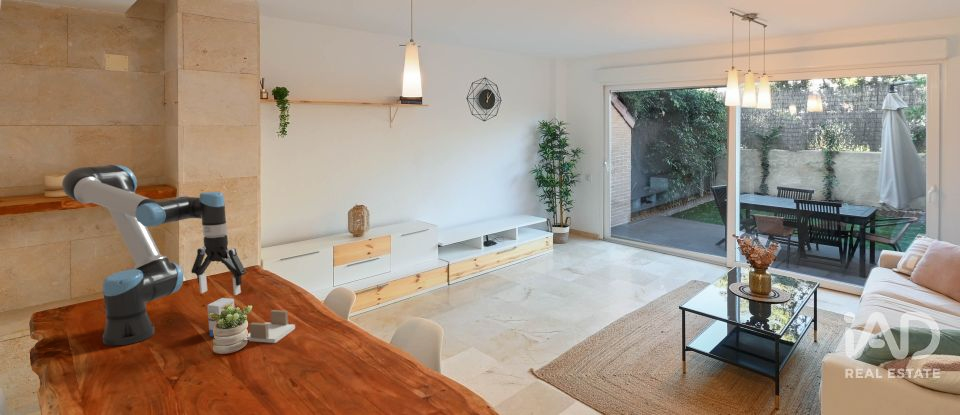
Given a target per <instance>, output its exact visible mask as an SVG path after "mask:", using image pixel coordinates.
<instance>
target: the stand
mask: <svg viewBox="0 0 960 415" xmlns="http://www.w3.org/2000/svg"><path fill="white" fill-rule="evenodd" d="M295 329H296V324H291V323H290V324H289V313H288V310H278V309H272V310H271V311H270V322H251V323H250V324H249V333H247V334H248V336H247V339H248V340H249V341H248V342H256V343H257V342H258V343H270V344H275V343H278V342H279V341H280V340H282V339H283V338H284V337H285V336H287V335H288V334H290V333H291V332H292V331H294V330H295Z"/></svg>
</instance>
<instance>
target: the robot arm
mask: <svg viewBox="0 0 960 415" xmlns="http://www.w3.org/2000/svg"><path fill="white" fill-rule="evenodd" d="M137 180H138V179H137V177H136V175H135V173H134V172H133V171H132V170H131V169H130V168H128V167H127V166H124V165H121V164H120V165H119V164H118V165H117V164H115V165H114V164H109V165H108V164H107V165H100V166H99V165H98V166H88V167H87V166H84V167H83V166H82V167H77V168H74V169H73V170H70V171H68V172H67V174H66V175H65V176H64V177H63V179H62V184H61V187H62V190H63V192H64V194H65V195H66V196H67V197H68V198H70V199H71V200H73V201H76V202H79V203H81V204H94V205H98V206H101V207H103V208H106V209H107V210H108V212H109V214H110V216H111V217H112V220H113V222H114V224H115V226H116V228H117V230H118V232H119V234H120V236H121V238H122V241H123V243H124V245H125V246H126V248H127V250H128V252H129V254H130V256H131V258H132V260H133V262H134V264H135V266H134V267H133V268H131V269H126V270H120V271H117V272H114V273H112V274H110V275H108V276H107V277H105V278H104V280H103V282H102V295H103V299H104V307H105V309H104V310H105V316H106V322H105V326H104V332H103V333H102V343H103V344H104V345H106V346H108V347H109V346H110V347H113V346H114V347H116V346H126V345H131V344H135V343H140V342H142V341H145V340H147V339H149V338H151V337H153V335H154V334H155V327H154V326H155V325H154V324H153V323H152V320H151V318H150V317H149V315H148V313H147V303H150V302H152V301H155V300H157V299H161V298H163V297H167V296H170V295H172V294H174V293H176V292H178V291H179V290H180V289H181V287H182V285H183V282H184V272H183V269H182V267H181V266H180V265H179V264H177V263H176V262H173V261H172V262H171V261H170V260H169V258H168V257H167V256H166V255H162V254H161V253H160V251H159V248H158V246H157V245H156V242H155V241H154V238H153V236H152V234H151V232H150V230H149V228H148V227H157V226H160V225H164V224H168V223H172V222H173V223H174V222H179V221H183V220H188V219H189V220H190V219H201V224H202V233H203V236H204V237H203V247H200V248H197V252H196V253H197V254H196V257H195V260H194V262H193V266H192V267H191V268H192V269H191V274H195V275H196V276H197V277H196V279H197V283H198V284H199V293H200V294H204V293H205V292H208V283H207V274H206V270H207V268H208V267H209V266H210V264H211V263H212V262H218V263H220V262H221V263H222V264H224V265H225V267H226V268H227V270H229V271H230V273H231V274H232V275H233V277H232V286H233V295H234V296H237V295H239V294H241V293H242V290H241V285H242V282H243V281H242V276H244V275H246V274H247V271H246V269H245V267H244V265H243V264H242V261H241V259H240V258H239V256H238V253H237V249H236V248H232V249H228V245H229V241H228V240H229V239H228V235H227V233H228V229H227V228H228V226H227V219H226V202H225V197H224V194H223V193H222V192H221V191H205V192H201V193H200V194H199V196H198V197H195V196H186V195H185V196H177V197H175V198H174V199H169V200H160V201H159V200H156V199H152V198H150V197H146V196H143V195H140V194H137V193H136V190H137V188H138V185H137V184H138V181H137ZM205 255H206V257H205ZM204 258H205V259H204Z"/></svg>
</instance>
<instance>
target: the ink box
mask: <svg viewBox="0 0 960 415" xmlns="http://www.w3.org/2000/svg"><path fill="white" fill-rule="evenodd" d="M226 304H230V305H232V306H233V307H235V299H234V298H228V297H221V298H218V299H217V300H215V301H213V302H210V303H209V304H207V306H206V307H207V308H206V309H207V320H208V330H209V337H213V327H214V326H215V325H216V323H217V322H216V320H214V319H212V318H211V317H210V316H209V314H210V313H216V314H218V315H220V314H221V311H222V310H223V308H224V307H225V305H226Z"/></svg>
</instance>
